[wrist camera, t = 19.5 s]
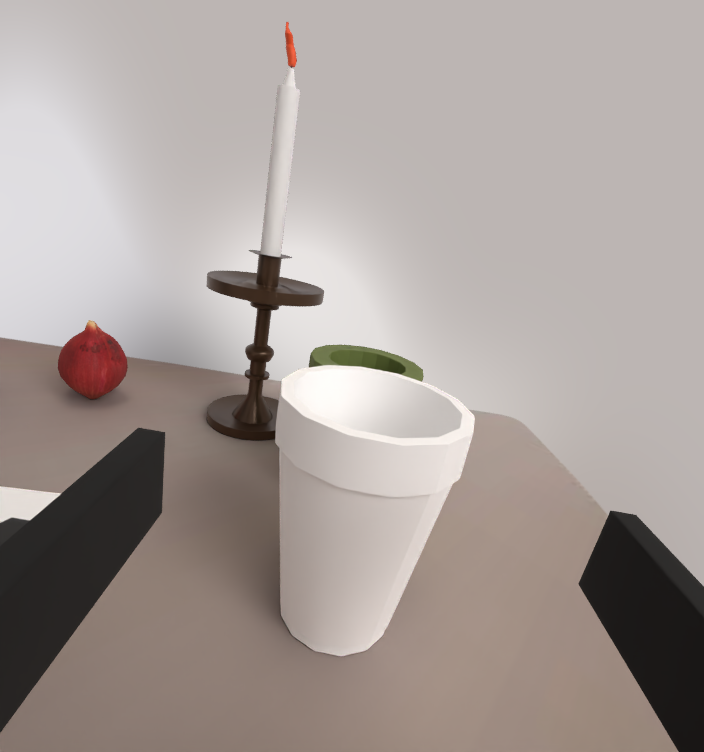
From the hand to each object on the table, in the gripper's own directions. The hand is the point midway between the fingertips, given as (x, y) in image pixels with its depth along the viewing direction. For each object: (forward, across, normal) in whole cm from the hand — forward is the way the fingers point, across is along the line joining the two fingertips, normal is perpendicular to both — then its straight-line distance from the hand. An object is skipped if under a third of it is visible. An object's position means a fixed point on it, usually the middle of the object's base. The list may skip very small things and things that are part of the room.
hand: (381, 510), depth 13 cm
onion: (+29, -26, -13) cm, 41 cm away
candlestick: (+30, -10, -13) cm, 35 cm away
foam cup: (+9, 0, -13) cm, 16 cm away
